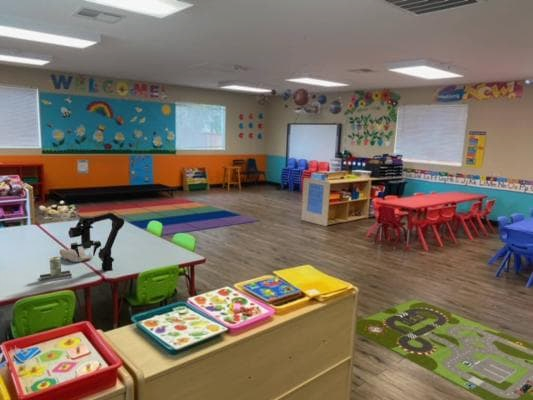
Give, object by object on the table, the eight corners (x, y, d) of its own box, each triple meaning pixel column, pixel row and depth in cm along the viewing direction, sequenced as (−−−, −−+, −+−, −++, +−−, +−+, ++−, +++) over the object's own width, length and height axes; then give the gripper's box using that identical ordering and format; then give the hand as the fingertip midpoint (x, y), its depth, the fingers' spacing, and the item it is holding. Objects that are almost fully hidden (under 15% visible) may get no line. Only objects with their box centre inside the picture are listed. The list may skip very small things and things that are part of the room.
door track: (69, 273, 275) (69, 269, 274) (72, 277, 267) (71, 274, 266) (39, 277, 264) (39, 274, 264) (41, 282, 256) (41, 279, 256)
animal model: (77, 234, 312) (57, 239, 300) (94, 252, 301) (74, 258, 288) (75, 247, 318) (55, 252, 306) (92, 265, 306) (72, 272, 294)
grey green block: (60, 274, 268) (59, 257, 266) (61, 276, 265) (60, 258, 263) (50, 276, 265) (49, 258, 263) (51, 278, 262) (50, 260, 260)
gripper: (71, 239, 256) (72, 262, 259) (101, 236, 265) (102, 258, 268) (70, 235, 266) (71, 257, 269) (99, 232, 275) (100, 254, 278)
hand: (86, 257), depth 270 cm, fingers open, 9 cm apart
